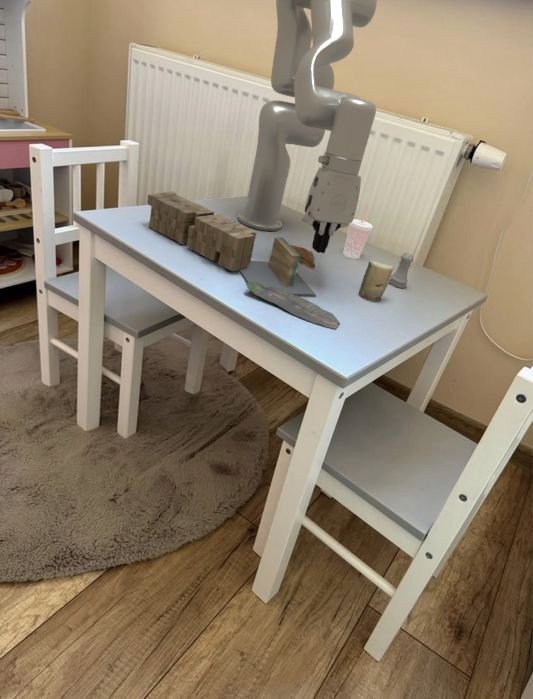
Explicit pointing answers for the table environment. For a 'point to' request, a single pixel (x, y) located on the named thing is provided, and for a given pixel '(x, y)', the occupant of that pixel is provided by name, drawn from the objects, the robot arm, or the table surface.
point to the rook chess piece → (402, 271)
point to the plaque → (284, 261)
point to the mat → (274, 279)
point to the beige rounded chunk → (375, 280)
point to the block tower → (202, 230)
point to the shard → (305, 256)
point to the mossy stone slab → (294, 304)
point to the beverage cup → (357, 237)
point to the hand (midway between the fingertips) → (318, 250)
